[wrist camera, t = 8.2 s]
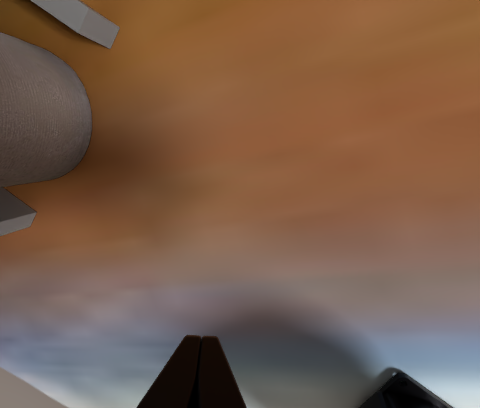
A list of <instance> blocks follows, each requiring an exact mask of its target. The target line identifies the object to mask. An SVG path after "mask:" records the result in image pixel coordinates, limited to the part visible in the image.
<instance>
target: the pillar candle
mask: <svg viewBox="0 0 480 408" xmlns="http://www.w3.org/2000/svg"><path fill="white" fill-rule="evenodd" d="M91 132H92V112H91V107H90V103H89V99H88V97H87V94H86V90H85V88H84V86H83V84H82V82H81V81H80V79H79V77H78V76H77V74H76V73H75V71H74V70H73V69H72V68H71V67H70V66H69V65H68V64H67V63H65V62H64V61H63V60H61V59H60V58H58V57H57V56H55V55H54V54H52V53H51V52H49V51H47V50H45V49H43V48H41V47H38V46H36V45H33V44H30V43H27V42H25V41H23V40H20V39H18V38H15V37H13V36H9V35H7V34H4V33H1V32H0V187H6V186H13V185H19V184H27V183H33V182H40V181H46V180H52V179H56V178H59V177H61V176H63V175H65V174H67V173H68V172H69V171H71V170H73V169H74V168H75V167H76V166H77V165H78V164H79V162H80V161H81V160H82V158H83V156H84V155H85V153H86V150H87V148H88V146H89V142H90V138H91Z"/></svg>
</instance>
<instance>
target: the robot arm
mask: <svg viewBox="0 0 480 408" xmlns="http://www.w3.org/2000/svg"><path fill="white" fill-rule="evenodd" d="M403 380H404V382H400V381H403ZM137 408H247V407H246V405H245V402H244V400H243V398H242V395H241V393H240V390H239V388H238V385H237V383H236V380H235V378H234V375H233V373H232V371H231V368H230V366H229V363H228V361H227V358H226V356H225V353H224V351H223V348H222V346H221V344H220V341H219V339H218V337H216V336H203V337H202V339H201V337H200V336H197V335H187V336H185V337H184V338H183V340H182V341H181V343H180V344H179V346H178V347H177V349H176V350H175V352H174V353H173V355H172V356H171V358H170V359H169V361H168V362H167V364H166V365H165V366H164V368H163V369H162V371H161V372H160V374H159V375H158V377H157V378H156V380H155V381H154V383H153V384H152V386H151V387H150V389H149V390H148V392H147V393H146V395H145V396H144V397H143V399H142V400H141V402H140V403H139V405H138V406H137ZM360 408H453V407H451V406H450V405H448V404H447V403H446V402H444V401H443V400H441V399H440V398H439V397H437V396H436V395H434V394H433V393H432V392H430V391H429V390H427V389H426V388H425V387H423V386H422V385H420V384H419V383H417V382H416V381H415V380H413V379H412V378H410V377H409V376H408V375H406V374H404V373H398V374H396V375H395V376H394V377H392V378H391V379H390V380H389V381H388V382H387V383H386V384H385V385H384V386H383V387H382V388H380V389H379V390H378V391H377V392H376V393H375V394H374V395H373V396H371V397H370V398H369V399H368V400H367V401H366V402H365V403H364V404H363V405H362V406H361V407H360Z"/></svg>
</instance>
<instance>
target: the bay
mask: <svg viewBox="0 0 480 408" xmlns="http://www.w3.org/2000/svg"><path fill="white" fill-rule="evenodd" d="M31 1H32V2H34V3H35V4H37V5H38V6H40V7H41V8H42V9H44V10H45V11H47V12H48V13H50V14H51V15H53V16H54V17H55V18H57V19H58V20H60V21H61V22H63V23H64V24H66V25H67V26H68V27H70V28H71V29H73V30H74V31H76V32H77V33H79V34H81V35H83V36H85V37H87V38H89V39H91V40H93V41H95V42H97V43H99V44H101V45H103V46H105V47H107V48H109V49H110V48H111V46H112V44H113V42H114V40H115V37H116V35H117V33H118V31H119V28H120V27H118V26H117V25H115V24H114V23H112V22H111V21H109V20H108V19H106V18H105V17H104V16H102V15H101V14H99V13H98V12H96V11H95V10H93V9H92V8H90V7H89V6H88V5H86V4H85V3H83V2H82V1H80V0H31ZM36 213H37V212H36V211H34V210H33V209H32V208H30V207H29V206H27V205H26V204H25V203H23V202H22V201H21V200H19V199H18V198H16V197H15V196H14V195H12V194H11V193H10V192H8V191H7V190H6V189H4V188H3V187H0V236H2V235H5V234H9V233H12V232H15V231H18V230H21V229H24V228H27V227H30V226H31V224H32V221H33V219H34V217H35V215H36Z"/></svg>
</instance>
